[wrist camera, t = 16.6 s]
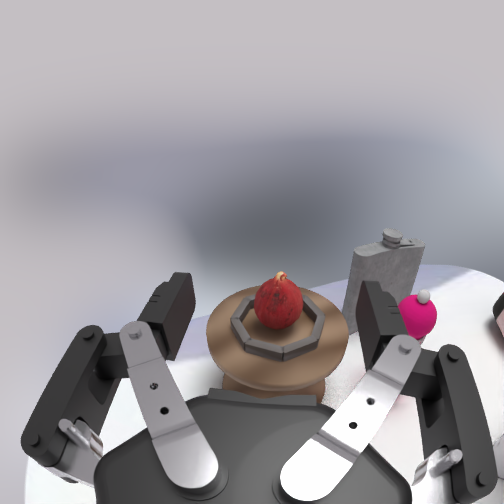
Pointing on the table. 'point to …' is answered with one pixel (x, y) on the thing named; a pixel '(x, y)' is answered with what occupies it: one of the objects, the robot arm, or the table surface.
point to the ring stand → (276, 347)
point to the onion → (278, 302)
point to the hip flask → (383, 270)
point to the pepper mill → (418, 315)
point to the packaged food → (499, 312)
